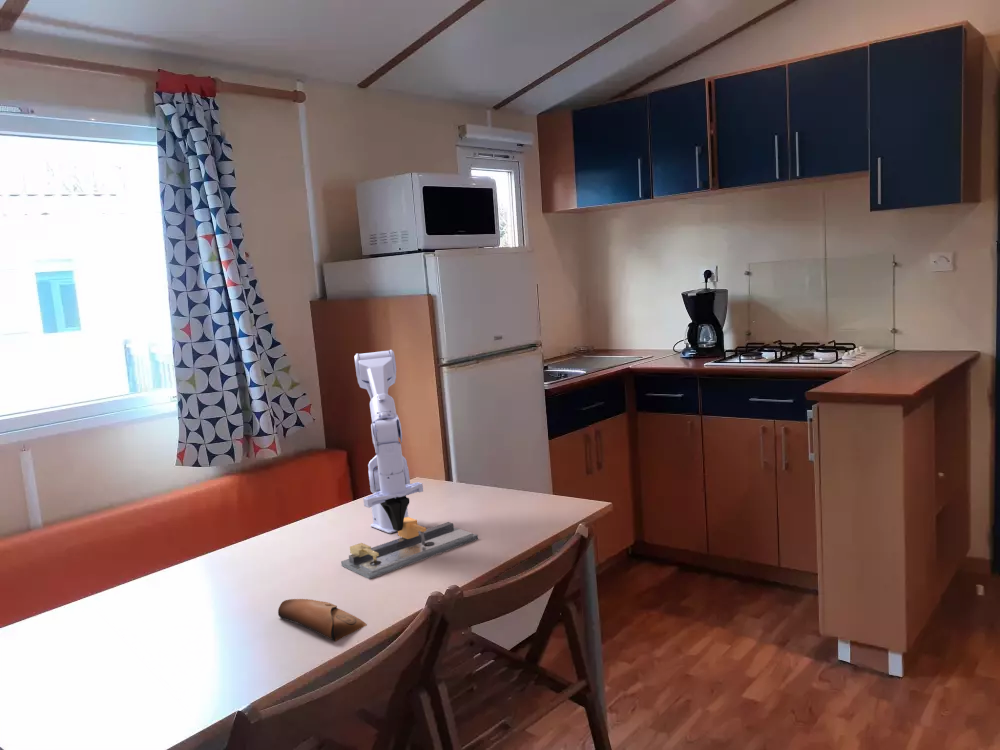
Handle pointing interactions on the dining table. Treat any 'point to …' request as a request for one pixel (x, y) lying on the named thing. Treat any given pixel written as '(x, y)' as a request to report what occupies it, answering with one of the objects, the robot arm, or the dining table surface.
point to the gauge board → (405, 550)
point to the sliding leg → (411, 529)
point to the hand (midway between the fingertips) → (398, 529)
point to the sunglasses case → (320, 617)
